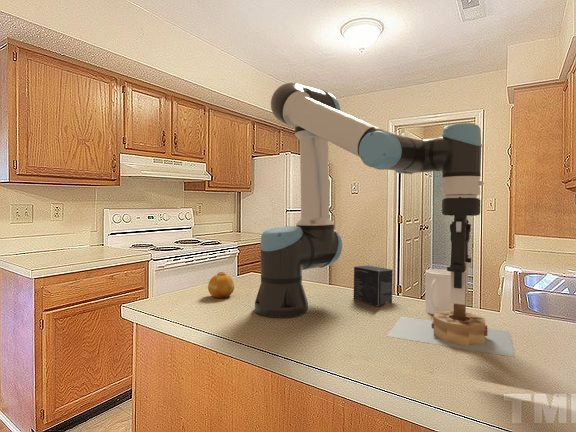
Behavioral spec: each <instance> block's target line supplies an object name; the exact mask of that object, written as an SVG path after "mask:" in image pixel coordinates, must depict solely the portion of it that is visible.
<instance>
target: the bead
mask: <svg viewBox="0 0 576 432" xmlns="http://www.w3.org/2000/svg"><path fill="white" fill-rule="evenodd" d="M453 312H454V311H443V312H436V313H435V315H433V320H432V321H433V322H432V328H433V329H434V336H436V337H438V338H440V339H442V340H444V341H446V342H451V343H458V344H464V345H474V344H481V343H485V336H487V328H488V325H486V318H485V317H482V316H479V315H477V314H474V313H472V312H466V321H459V320H453Z"/></svg>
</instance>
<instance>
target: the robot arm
mask: <svg viewBox="0 0 576 432" xmlns="http://www.w3.org/2000/svg"><path fill="white" fill-rule="evenodd" d="M270 109H271V112H272V114H273V117H275V119H276V120H278V121H279V122H280V123H283V124H286V125H287V126H290V127H293V128H294V136H295V137H296V138H297V139H298V140H299V154H300V156H299V159H300V170H299V171H300V220H299V221H297V223H296V224H295V225H289V226H288V225H287V226H279V227H277V226H276V227H273V228H269V229H266V230H264V231H263V232H262V234H261V236H260V246H259V249H260V285H259V289H258V291H257V294H256V297H255V301H254V312H255V313H256V314H258V315H261V316H263V317H269V318H279V319H280V318H292V317H293V318H294V317H300V316H302V315H304V314H307V312H308V311H309V301H308V297H307V294H306V291H305V288H304V285H303V271H305V270H310V269H311V270H312V269H317V268H325V267H327V266H328V267H329V266H331V265H333V264H334V263H336V261H338V259H339V258H340V256H341V255H342V249H343V242H342V241H343V240H342V237H341V235H340V234H339V232H338V231H337V230H336V229H335V223H334V222H333V220H331V218H330V190H329V187H330V186H329V185H330V182H329V179H330V178H329V176H330V175H329V143H331V144H333V145H335V146H337V147H339V148H341V149H342V150H344V151H346V152H349V153H351V154H353V155H355V156H356V157H359V158H360V159H361V161H362V163H363V164H364V165H365V166H367V167H369V168H373V169H375V170H388V171H389V170H390V171H395V172H396V173H397V174H405V175H406V174H408V175H409V174H410V175H412V174H416V173H417V174H418V173H419V174H420V173H429V172H441V173H442V176H441V177H442V178H441V195H442V196H444V198H442V200H441V213H442V215H443V216H453V221H452V222H451V223H450V225H449V232H450V243H451V246H450V247H451V249H450V252H451V253H450V265H449V266H447V267H446V268H447V269H446V270H447V271H451V291H450V303H454V304H463V305H465V282H466V293H468V292H469V291H468V289H469V287H468V286H469V263H470V264H471V263H472V258H471V257H469V243H470V237H471V235H470V233H471V232H472V231H471V228H472V224H471V223H469V219H468V217H469V216H470V217H472V216H473V217H474V216H475V217H476V216H479V215H481V199H480V198H478V196H480V195H481V187H480V186H484V184H485V183H484V180H481V176H482V173H481V166H482V147H483V145H482V144H483V143H482V133H481V132H482V131H481V130H482V129H481V127H480V126H479V125H478V124H476V123H472V122H461V123H453V124H450V125H446V126H444V127H443V129H442V134H441V136H439V137H435V138H434V137H433V138H425V139H417V138H413V137H408V136H403V135H398V134H396V133H393V132H390V131H389V130H385V129H382V128H380V127H378V126H377V125H376V126H375V125H373V124H372V123H371V124H370V123H368V122H366V121H364V120H361V119H358V118H357V117H354V116H353V115H350V114H347V113H345V112H342V111H341V106H340V103H339V100H338V98H336V97H335V96H334V95H333V94H332V93H330V92H327V91H326V90H323V89H317V88H314V87H310V86H307V85H303V84H301V83H297V82H296V83H295V82H287V83H284V84H281V85H280V86H278V87H277V89H276V90H274V92H273V94H272V96H271V100H270ZM465 263H466V272H465Z"/></svg>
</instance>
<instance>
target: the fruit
mask: <svg viewBox="0 0 576 432" xmlns="http://www.w3.org/2000/svg"><path fill="white" fill-rule="evenodd" d="M207 290H208V292H209V294H210V296H212V297H214V298H218V299H223V298H224V297H225V298H228V297H230V296H231V295H232V294H233V293H234V290H235V283H234V280H233V279H232V277H231V276H230V275H228V274H227V273H226V272H224V271H220V272H217V274H216V275H213V276H212V277H211V278H210V280H209V281H208V285H207Z"/></svg>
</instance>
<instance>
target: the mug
mask: <svg viewBox="0 0 576 432" xmlns="http://www.w3.org/2000/svg"><path fill="white" fill-rule="evenodd" d="M450 291H451V271H447V269H442V268H429V269H426V270H425V296H424V297H425V300H424V301H425V304H424V305H425V307H424V311H425V312H426V313H428V314H429V315H433V316H434V315H435V313H436V312H443V311H454V303H450Z"/></svg>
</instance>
